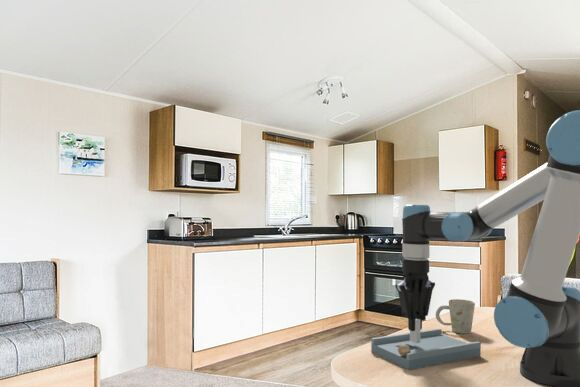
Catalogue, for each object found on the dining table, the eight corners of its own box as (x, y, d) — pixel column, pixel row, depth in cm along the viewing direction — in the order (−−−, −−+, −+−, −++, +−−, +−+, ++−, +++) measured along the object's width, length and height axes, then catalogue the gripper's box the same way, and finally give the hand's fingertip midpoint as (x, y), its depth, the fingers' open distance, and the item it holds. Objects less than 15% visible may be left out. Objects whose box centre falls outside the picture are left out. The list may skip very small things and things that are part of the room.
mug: (476, 335, 155) (476, 305, 155) (436, 333, 157) (437, 302, 157) (472, 329, 163) (472, 300, 163) (434, 326, 165) (434, 298, 166)
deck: (480, 356, 133) (480, 342, 133) (408, 370, 122) (409, 354, 122) (439, 341, 148) (439, 328, 148) (371, 352, 136) (371, 338, 136)
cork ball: (413, 357, 124) (413, 345, 124) (403, 359, 123) (403, 346, 123) (404, 353, 127) (405, 341, 127) (395, 355, 125) (395, 343, 125)
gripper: (423, 256, 141) (423, 335, 140) (389, 258, 135) (388, 340, 135) (442, 259, 134) (441, 342, 134) (406, 261, 128) (405, 348, 128)
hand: (415, 341), depth 134 cm, fingers closed
